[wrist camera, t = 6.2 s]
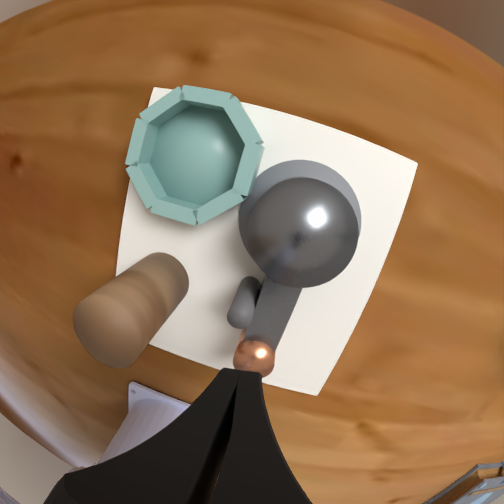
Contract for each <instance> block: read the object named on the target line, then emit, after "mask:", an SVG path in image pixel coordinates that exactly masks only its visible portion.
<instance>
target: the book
mask: <svg viewBox="0 0 504 504" xmlns="http://www.w3.org/2000/svg"><path fill="white" fill-rule="evenodd" d="M503 493H504V461H502V462H501V463H491V464H477V465H476V466H475V467H473V468H472V469H471V470H470V471H469V472H467V473H466V474H465V475H463V476H462V477H461V478H460V479H458V480H457V481H456V482H454V483H453V484H451V485H450V486H449V487H447V488H446V489H444V490H443V491H442V492H440V493H439V494H437V495H436V496H434V497H433V498H431V499H429V500H428V501H426V502H425V503H423V504H490V503H491V502H492V501H494V500H495V499H497V498H498V497H499V496H500V495H502V494H503Z"/></svg>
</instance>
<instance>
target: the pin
mask: <svg viewBox="0 0 504 504" xmlns="http://www.w3.org/2000/svg"><path fill="white" fill-rule="evenodd" d="M188 289H189V278H188V274H187V272H186V270H185V268H184V266H183V265H182V264H181V263H180V261H179V260H177V259H176V258H175V257H173V256H172V255H169V254H167V253H162V252H156V253H152V254H149V255H148V256H146V257H144V258H143V259H141V260H140V261H138V262H137V263H135V264H134V265H132V266H131V267H129V268H128V269H126V270H125V271H124V272H122V273H121V274H119V275H118V276H116V277H115V278H113V279H112V280H110V281H109V282H107V283H106V284H105V285H103V286H102V287H100V288H99V289H97V290H96V291H95V292H93V293H92V294H90V295H89V296H87V297H86V298H85V299H83V300H82V301H81V302H79V303H78V304H77V306H76V308H75V310H74V314H73V323H74V328H75V331H76V334H77V336H78V338H79V340H80V342H81V343H82V345H83V346H84V348H85V349H86V350H87V351H88V352H89V353H90V354H91V355H92V356H93V357H94V358H95V359H97V360H98V361H100V362H101V363H103V364H105V365H107V366H110V367H114V368H126V367H128V366H130V365H132V364H133V363H134V362H135V361H136V359H137V358H138V357H139V355H140V354H141V353H142V351H143V350H144V349H145V347H146V346H147V345H148V344H149V342H150V341H151V340H152V338H153V337H154V336H155V334H156V333H157V332H158V331H159V329H160V328H161V327H162V325H163V324H164V323H165V322H166V320H167V319H168V318H169V316H170V315H171V314H172V313H173V311H174V310H175V309H176V308H177V306H178V305H179V304H180V302H181V301H182V300H183V299H184V297H185V296H186V294H187V292H188Z"/></svg>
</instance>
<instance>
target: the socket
mask: <svg viewBox="0 0 504 504" xmlns="http://www.w3.org/2000/svg"><path fill="white" fill-rule="evenodd" d="M139 115H140V117H141V119H138V118H136V121H135V125H134V129H133V133H132V137H131V141H130V145H129V149H128V153H127V158H126V162H125V164H127V165H130V166H129V167H128V168H126V171H127V173H128V175H129V176H130V178H131V180H132V182H133V184H134V186H135V188H136V190H137V192H138V194H139V196H140V197H141V199H142V201H143V203H144V205H145V207H146V209H149V208H151V213H154V214H158V215H161V216H164V217H167V218H171V219H174V220H177V221H180V222H184V223H187V224H190V225H193V226H195V225H197V224H198V223H199V225H201V224H203V223H205V222H206V221H208V220H210V219H212V218H214V217H215V216H217V215H219V214H221V213H222V212H224V211H226V210H228V209H230V208H231V207H233V206H235V205H237V204H239V203H241V202H242V201H244V200H246V199H247V198H248V197H247V196H249V195H250V194H251V193H252V189H253V186H254V182H255V179H256V176H257V173H258V171H259V166H260V162H261V159H262V155H263V152H264V149H265V147H263V146H262V145H261V144H263V143H264V141H263V140H262V138H261V136H260V135H259V133H258V131H257V129H256V128H255V126H254V124H253V122H252V121H251V119H250V118H249V116H248V114H247V113H246V111H245V109H244V108H243V106H242V104H241V103H240V101H239V100H238V99H237V97H236V96H235V97H234V96H233V95H232V94H231V93H227V92H222V91H217V90H212V89H206V88H200V87H194V86H187V85H183V88H180V87H179V86H178V87H177V88H175V89H174V90H172V91H171V92H169V93H168V94H166V95H165V96H163V97H162V98H161V99H159V100H158V101H156V102H155V103H153V104H152V105H151V106H149V107H148V108H147V109H145V110H144V111H143V112H141V113H140V114H139Z"/></svg>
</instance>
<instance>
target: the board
mask: <svg viewBox="0 0 504 504" xmlns="http://www.w3.org/2000/svg"><path fill="white" fill-rule="evenodd" d="M171 91H172V90H171V89H164V88H155V87H154V89H153V92H152V95H151V98H150V102H149V105H148V107H149V106H151V105H152V104H153V103H155V102H156V101H158V100H159V99H161V98H162V97H163V96H165V95H166V94H168V93H169V92H171ZM240 103H241V104H242V106H243V108H244V109H245V111H246V113H247V114H248V116H249V118H250V119H251V121H252V122H253V124H254V126H255V128H256V129H257V131H258V133H259V135H260V136H261V138H262V140H263V141H264V143H263V144H261V145H262V146H263V147H265V149H264V152H263V155H262V159H261V162H260V166H259V171H258V173H257V176H256V179H255V182H254V186H253V189H252V193H251V194H250V195H249V196H247V197H248V198H247V199H246V200H244V201H242V202H241V203H239V204H237V205H235V206H233V207H231V208H230V209H228V210H226V211H224V212H222V213H221V214H219V215H217V216H215V217H214V218H212V219H210V220H208V221H206V222H205V223H203V224H201V225H199V223H198V224H197V225H195V226H193V225H190V224H187V223H184V222H180V221H177V220H174V219H171V218H167V217H164V216H161V215H158V214H154V213H151V208H149V209H146V207H145V205H144V203H143V201H142V199H141V197H140V196H139V194H138V192H137V190H136V188H135V186H134V184H133V182H132V180H131V178H130V182H129V187H128V192H127V198H126V203H125V209H124V215H123V222H122V228H121V235H120V243H119V251H118V260H117V269H116V276H118V275H119V274H121V273H122V272H124V271H125V270H126V269H128V268H129V267H131V266H132V265H134V264H135V263H137V262H138V261H140V260H141V259H143V258H144V257H146V256H148V255H149V254H152V253H156V252H162V253H167V254H169V255H172V256H173V257H175V258H176V259H177V260H179V261H180V263H181V264H182V265H183V266H184V268H185V270H186V272H187V274H188V278H189V289H188V292H187V294H186V296H185V297H184V299H183V300H182V301H181V302H180V304H179V305H178V306H177V308H176V309H175V310H174V311H173V313H172V314H171V315H170V316H169V318H168V319H167V320H166V322H165V323H164V324H163V325H162V327H161V328H160V329H159V331H158V332H157V333H156V334H155V336H154V337H153V338H152V340H151V341H150V342H149V344H151V345H153V346H156V347H158V348H161V349H163V350H166V351H168V352H171V353H174V354H176V355H179V356H182V357H184V358H187V359H190V360H193V361H195V362H198V363H201V364H204V365H207V366H210V367H213V368H216V369H219V370H221V369H222V368H231V369H235V368H234V366H233V357H234V354H235V351H236V347H237V344H238V341H239V337H240V334H241V331H242V329H244V328H247V327H248V326H249V325H250V324H251V322H252V318H253V314H254V310H255V306H256V302H257V298H258V294H259V291H260V288H261V285H262V282H263V280H264V277H265V273H264V272H263V271H262V270H261V269H260V268H259V266H258V265H257V264H256V262H255V261H254V259H253V257H252V255H251V252H250V249H249V246H248V241H247V226H248V220H249V216H250V214H251V211H252V209H253V207H254V206H255V204H256V202H257V201H258V200H259V198H260V197H261V196H262V195H263V194H264V193H265V192H266V191H267V190H268V189H269V188H270V187H272V186H273V185H274V184H276V183H278V182H279V181H281V180H284V179H287V178H290V177H297V176H304V177H311V178H314V179H317V180H320V181H323V182H325V183H328V184H330V185H331V186H333V187H335V188H336V189H337V190H339V191H340V192H341V193H342V194H343V195H344V196H345V197H346V198H347V200H348V201H349V203H350V204H351V206H352V208H353V210H354V212H355V215H356V217H357V222H358V229H359V236H358V244H357V248H356V251H355V254H354V256H353V258H352V260H351V261H350V263H349V264H348V266H347V267H346V268H345V269H344V270H343V271H342V272H341V273H340V274H339V275H338V276H337V277H335V278H334V279H332V280H330V281H329V282H327V283H324V284H322V285H319V286H315V287H308V288H303V289H302V291H301V293H300V296H299V298H298V301H297V303H296V305H295V308H294V310H293V312H292V315H291V317H290V319H289V322H288V324H287V326H286V328H285V331H284V333H283V335H282V337H281V340H280V342H279V344H278V346H277V349H276V353H275V363H274V369H273V371H272V372H271V373H270V374H269V375H268V376H266V377H264V378H262V383H266V384H270V385H274V386H277V387H281V388H285V389H289V390H294V391H298V392H302V393H307V394H311V395H316V396H317V395H318V393H319V392H320V390H321V388H322V387H323V385H324V383H325V381H326V380H327V378H328V376H329V374H330V373H331V371H332V369H333V367H334V366H335V364H336V362H337V360H338V358H339V357H340V355H341V353H342V351H343V349H344V347H345V345H346V343H347V342H348V340H349V338H350V336H351V334H352V332H353V330H354V328H355V326H356V324H357V322H358V320H359V318H360V316H361V313H362V311H363V309H364V307H365V305H366V303H367V301H368V298H369V296H370V294H371V292H372V290H373V287H374V285H375V283H376V280H377V278H378V276H379V273H380V271H381V269H382V266H383V264H384V261H385V259H386V256H387V254H388V251H389V249H390V246H391V244H392V241H393V238H394V236H395V233H396V230H397V227H398V225H399V222H400V219H401V216H402V213H403V210H404V207H405V204H406V201H407V198H408V195H409V192H410V189H411V185H412V182H413V179H414V175H415V172H416V168H417V165H418V163H416V162H414V161H412V160H410V159H408V158H406V157H403V156H401V155H399V154H397V153H394V152H392V151H390V150H388V149H385V148H383V147H381V146H378V145H376V144H373V143H371V142H368V141H366V140H363V139H361V138H358V137H356V136H353V135H350V134H348V133H345V132H342V131H339V130H337V129H334V128H331V127H328V126H325V125H322V124H319V123H316V122H313V121H310V120H307V119H303V118H300V117H297V116H293V115H290V114H286V113H283V112H279V111H276V110H272V109H268V108H264V107H260V106H256V105H252V104H248V103H243V102H240Z"/></svg>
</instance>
